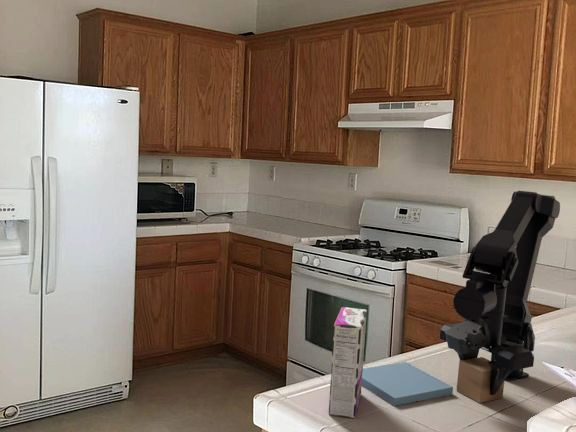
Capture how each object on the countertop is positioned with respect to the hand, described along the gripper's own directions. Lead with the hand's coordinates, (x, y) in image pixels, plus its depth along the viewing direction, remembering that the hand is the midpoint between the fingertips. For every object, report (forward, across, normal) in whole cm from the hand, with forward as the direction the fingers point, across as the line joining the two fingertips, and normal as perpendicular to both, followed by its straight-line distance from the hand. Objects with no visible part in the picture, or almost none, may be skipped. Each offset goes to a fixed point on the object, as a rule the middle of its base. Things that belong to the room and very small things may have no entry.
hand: (479, 388), depth 122 cm
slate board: (+1, -9, -12) cm, 15 cm away
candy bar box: (+2, -6, -27) cm, 28 cm away
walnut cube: (+1, 0, 0) cm, 1 cm away
